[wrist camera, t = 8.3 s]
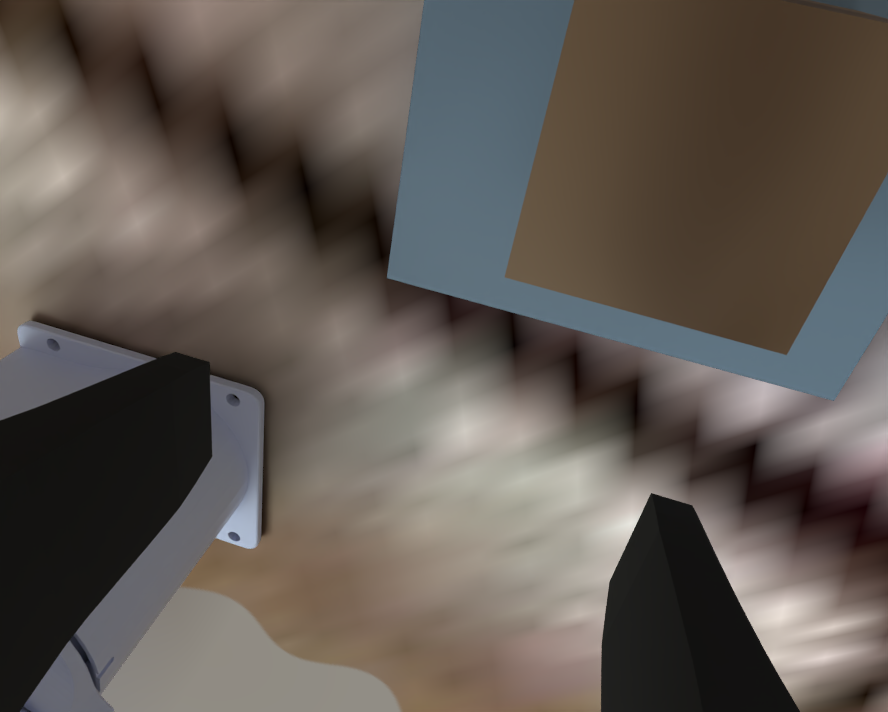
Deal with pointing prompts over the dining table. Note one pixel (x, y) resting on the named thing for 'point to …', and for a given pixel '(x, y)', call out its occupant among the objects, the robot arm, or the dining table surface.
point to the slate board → (505, 183)
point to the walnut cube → (706, 160)
